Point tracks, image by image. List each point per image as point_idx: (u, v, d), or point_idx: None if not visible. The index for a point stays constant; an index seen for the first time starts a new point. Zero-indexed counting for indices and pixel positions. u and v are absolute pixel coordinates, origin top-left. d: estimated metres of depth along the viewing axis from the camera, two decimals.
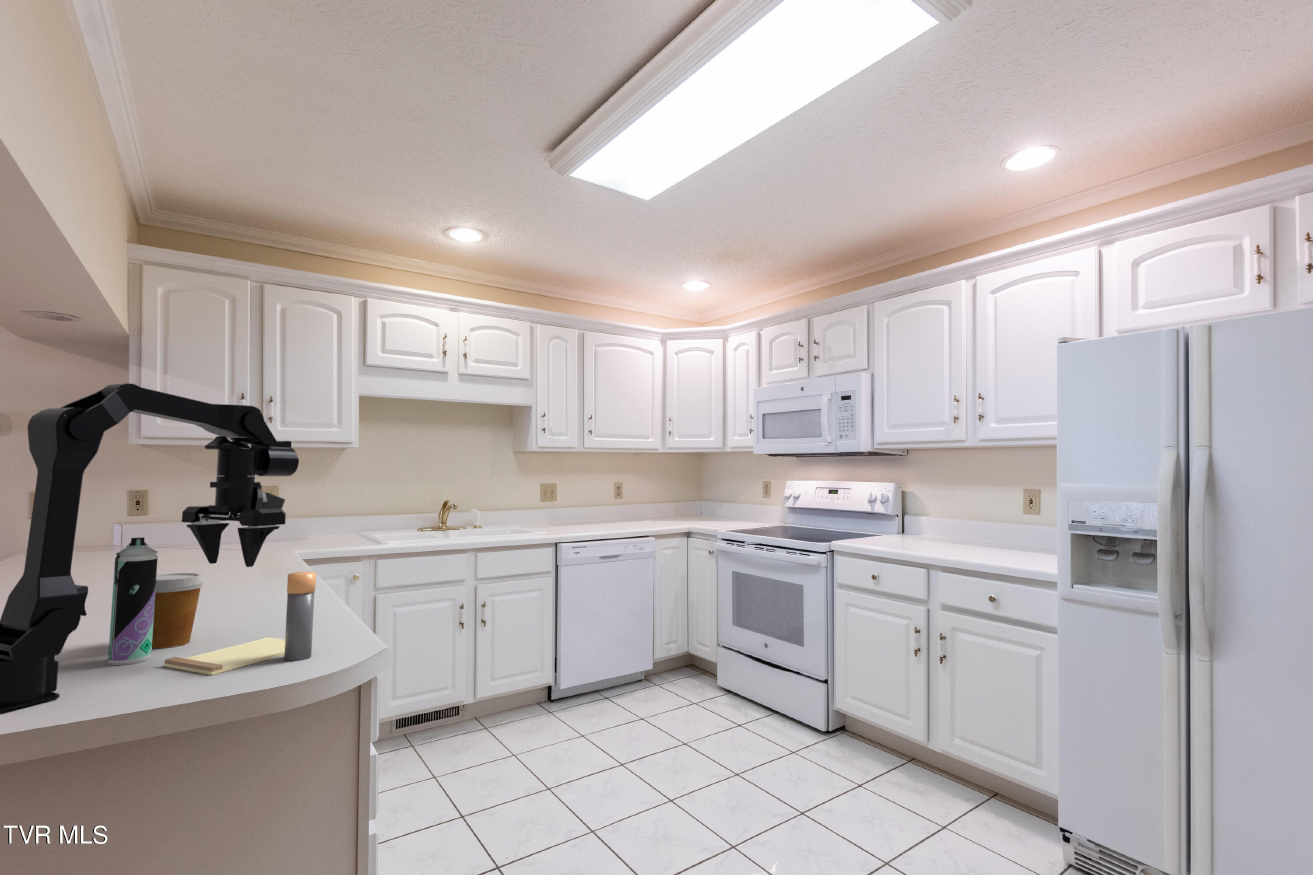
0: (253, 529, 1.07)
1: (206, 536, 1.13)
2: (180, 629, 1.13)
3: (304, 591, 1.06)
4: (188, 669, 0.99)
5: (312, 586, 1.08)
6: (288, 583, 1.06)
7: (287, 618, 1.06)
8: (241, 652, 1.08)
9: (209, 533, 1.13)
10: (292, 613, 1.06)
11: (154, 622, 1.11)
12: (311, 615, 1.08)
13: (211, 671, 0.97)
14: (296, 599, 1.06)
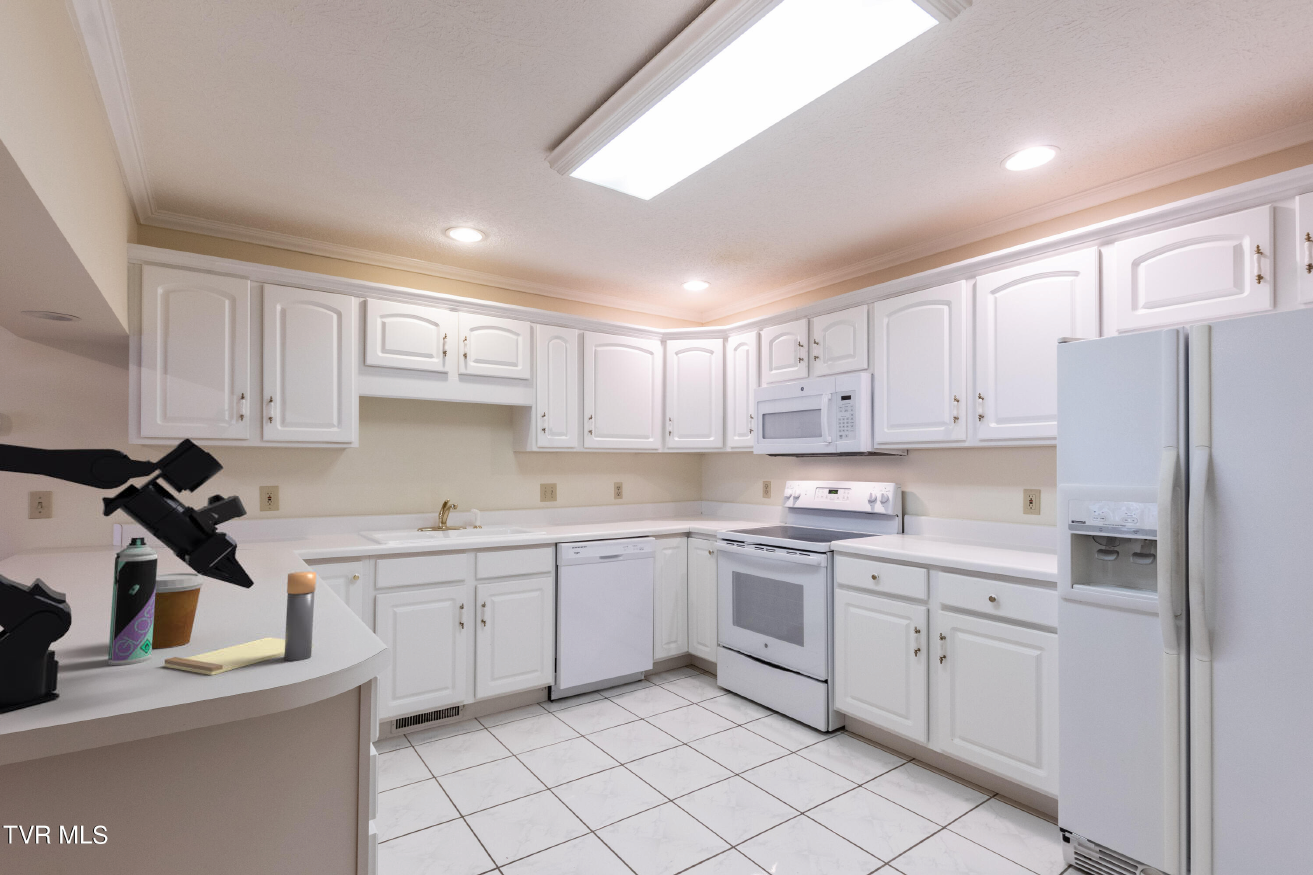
0: (206, 571, 0.92)
1: None
2: (180, 629, 1.13)
3: (304, 591, 1.06)
4: (188, 669, 0.99)
5: (312, 585, 1.08)
6: (288, 583, 1.06)
7: (287, 618, 1.06)
8: (241, 652, 1.08)
9: None
10: (292, 613, 1.06)
11: (154, 622, 1.11)
12: (311, 615, 1.08)
13: (211, 671, 0.97)
14: (296, 599, 1.06)
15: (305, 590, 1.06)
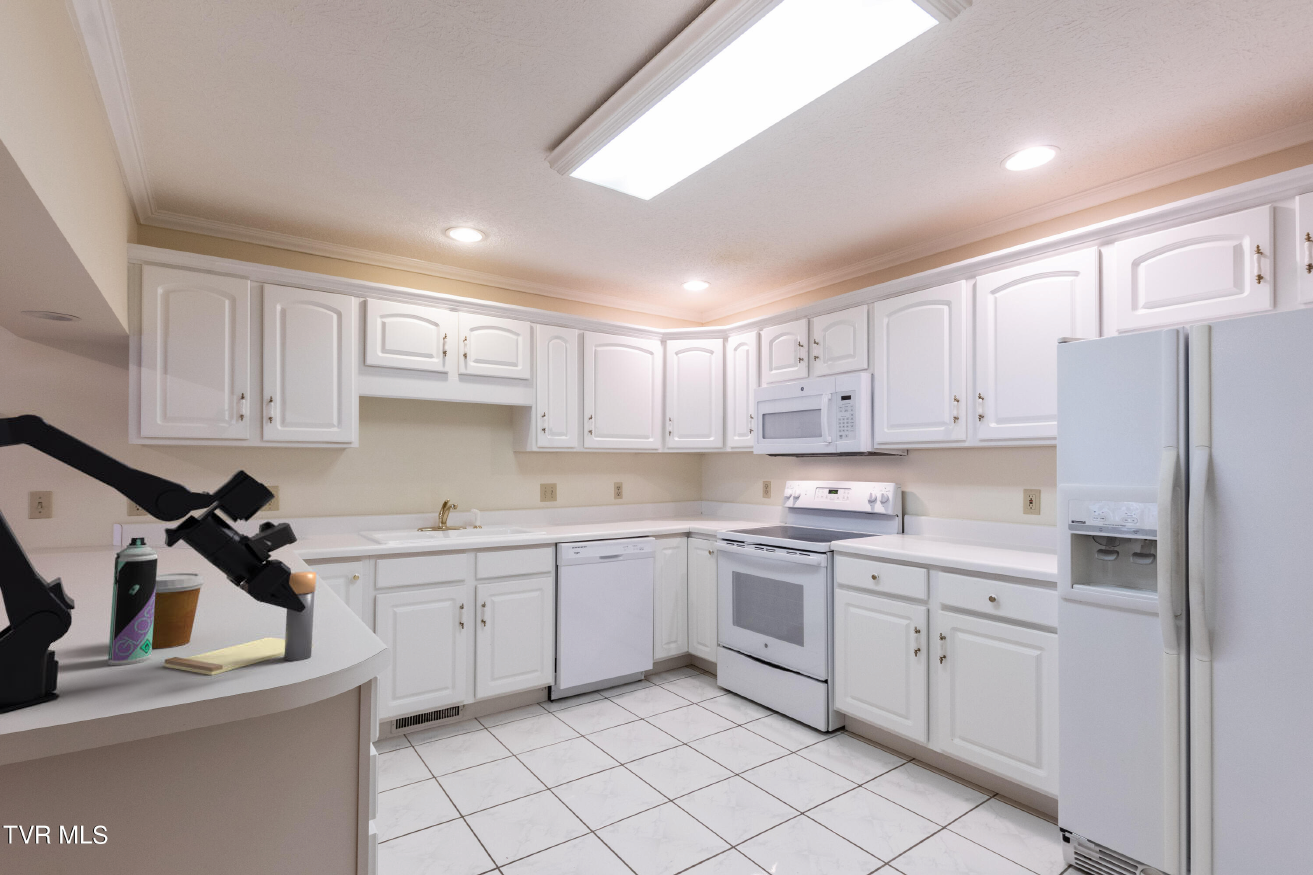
0: (263, 598, 0.97)
1: None
2: (180, 629, 1.13)
3: (304, 591, 1.06)
4: (188, 669, 0.99)
5: (312, 585, 1.08)
6: None
7: (287, 618, 1.06)
8: (241, 652, 1.08)
9: None
10: (292, 613, 1.06)
11: (154, 622, 1.11)
12: (311, 615, 1.08)
13: (211, 671, 0.97)
14: None
15: (305, 590, 1.06)
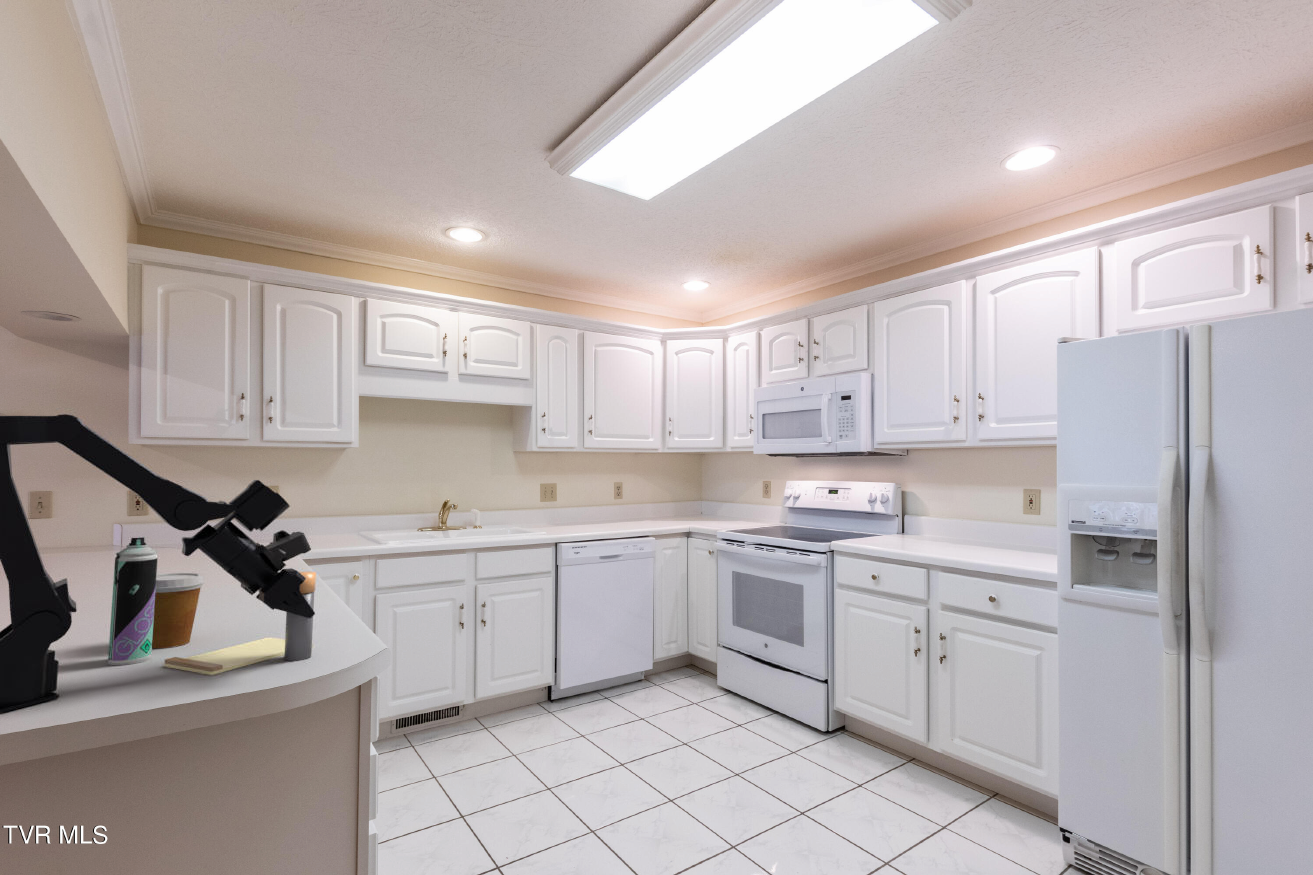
0: None
1: None
2: (180, 629, 1.13)
3: (304, 591, 1.06)
4: (188, 669, 0.99)
5: (312, 586, 1.08)
6: None
7: (287, 618, 1.06)
8: (241, 652, 1.08)
9: None
10: None
11: (154, 622, 1.11)
12: None
13: (211, 671, 0.97)
14: None
15: (305, 590, 1.06)
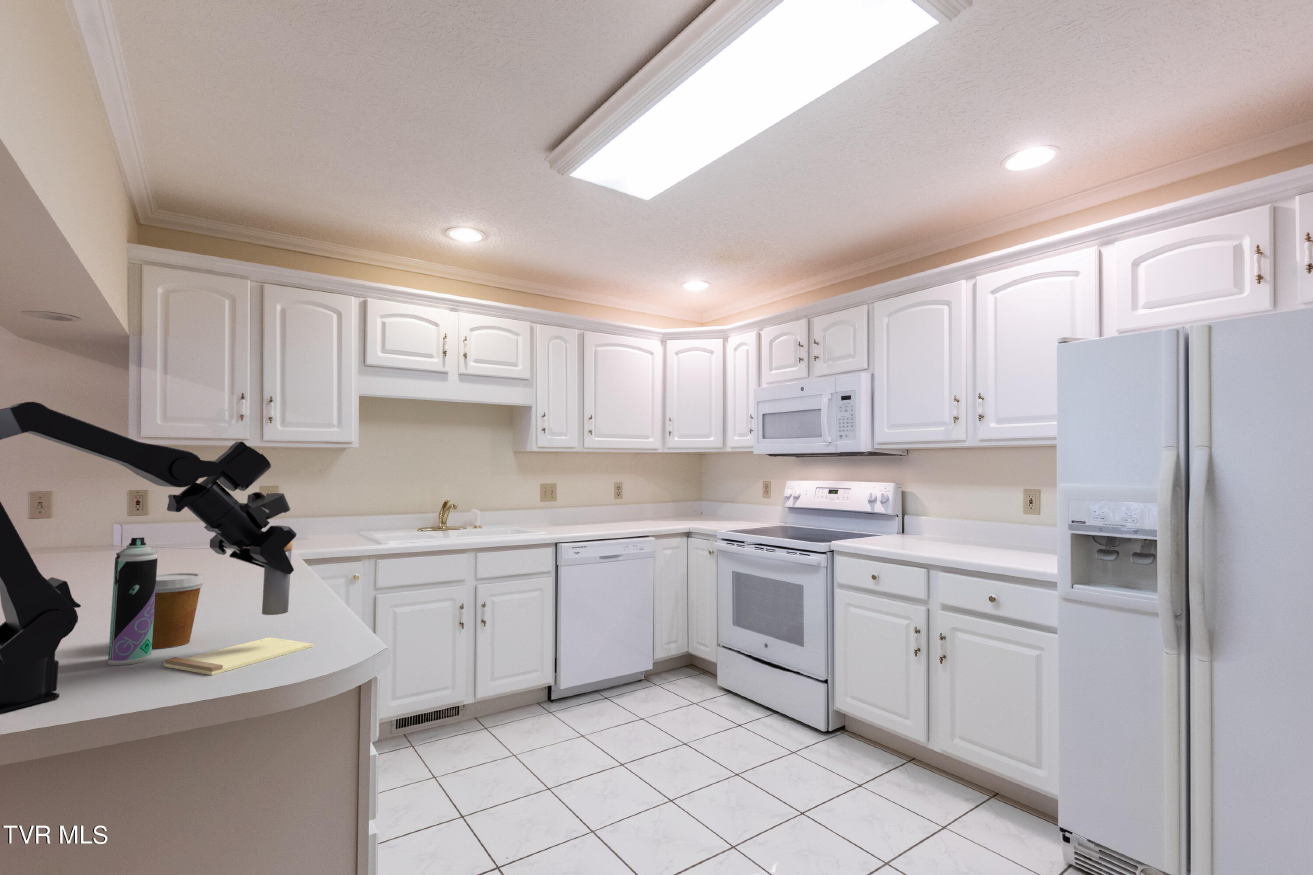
0: None
1: (252, 557, 1.12)
2: (180, 629, 1.13)
3: (284, 548, 1.12)
4: (188, 669, 0.99)
5: (291, 544, 1.13)
6: None
7: (266, 575, 1.11)
8: (241, 652, 1.08)
9: None
10: (272, 570, 1.11)
11: (154, 622, 1.11)
12: None
13: (211, 671, 0.97)
14: None
15: (285, 548, 1.12)
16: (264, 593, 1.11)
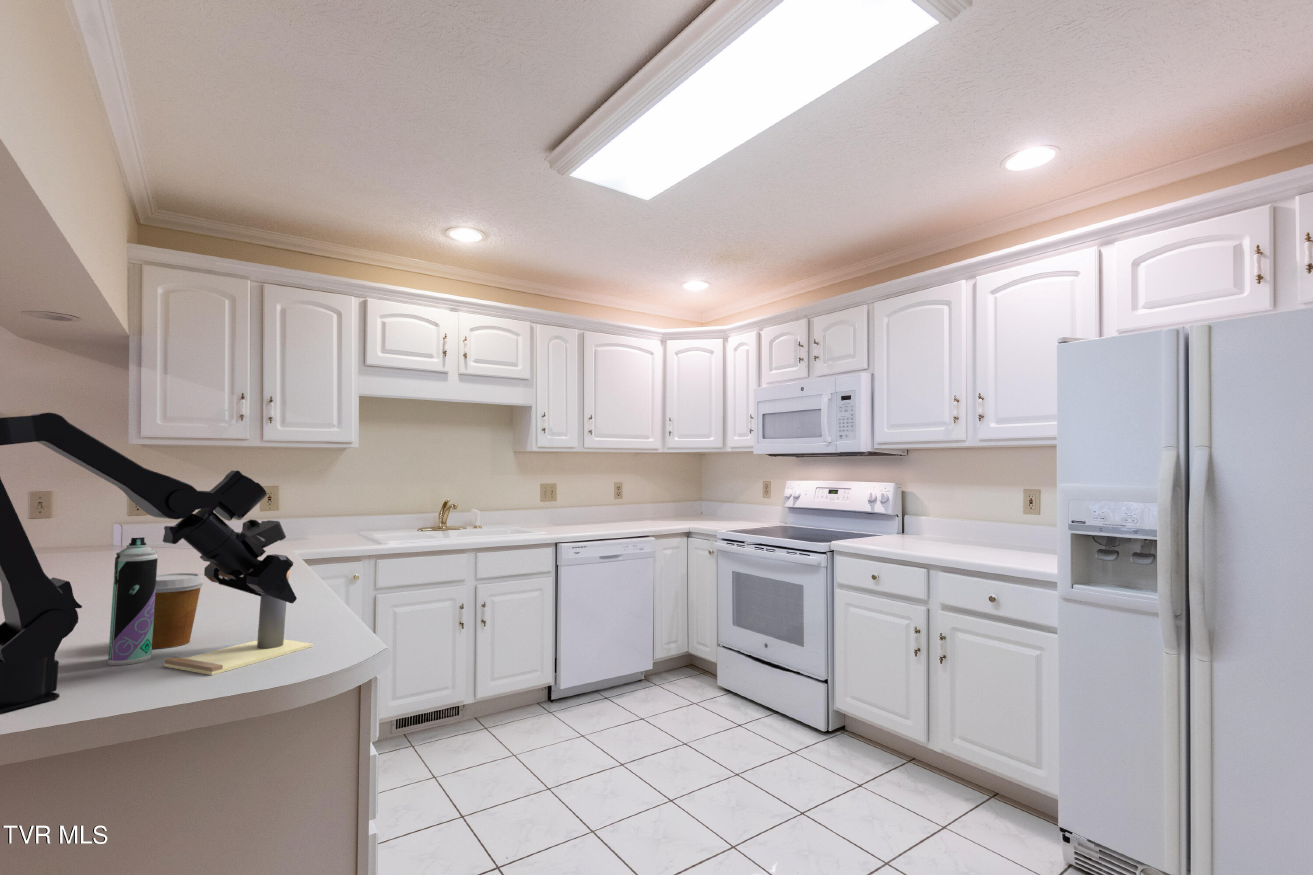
0: None
1: (241, 584, 1.13)
2: (180, 629, 1.13)
3: None
4: (188, 669, 0.99)
5: (287, 577, 1.13)
6: None
7: (262, 608, 1.11)
8: (241, 652, 1.08)
9: (242, 580, 1.13)
10: (268, 603, 1.11)
11: (154, 622, 1.11)
12: (285, 605, 1.13)
13: (211, 671, 0.97)
14: None
15: None
16: (260, 626, 1.11)
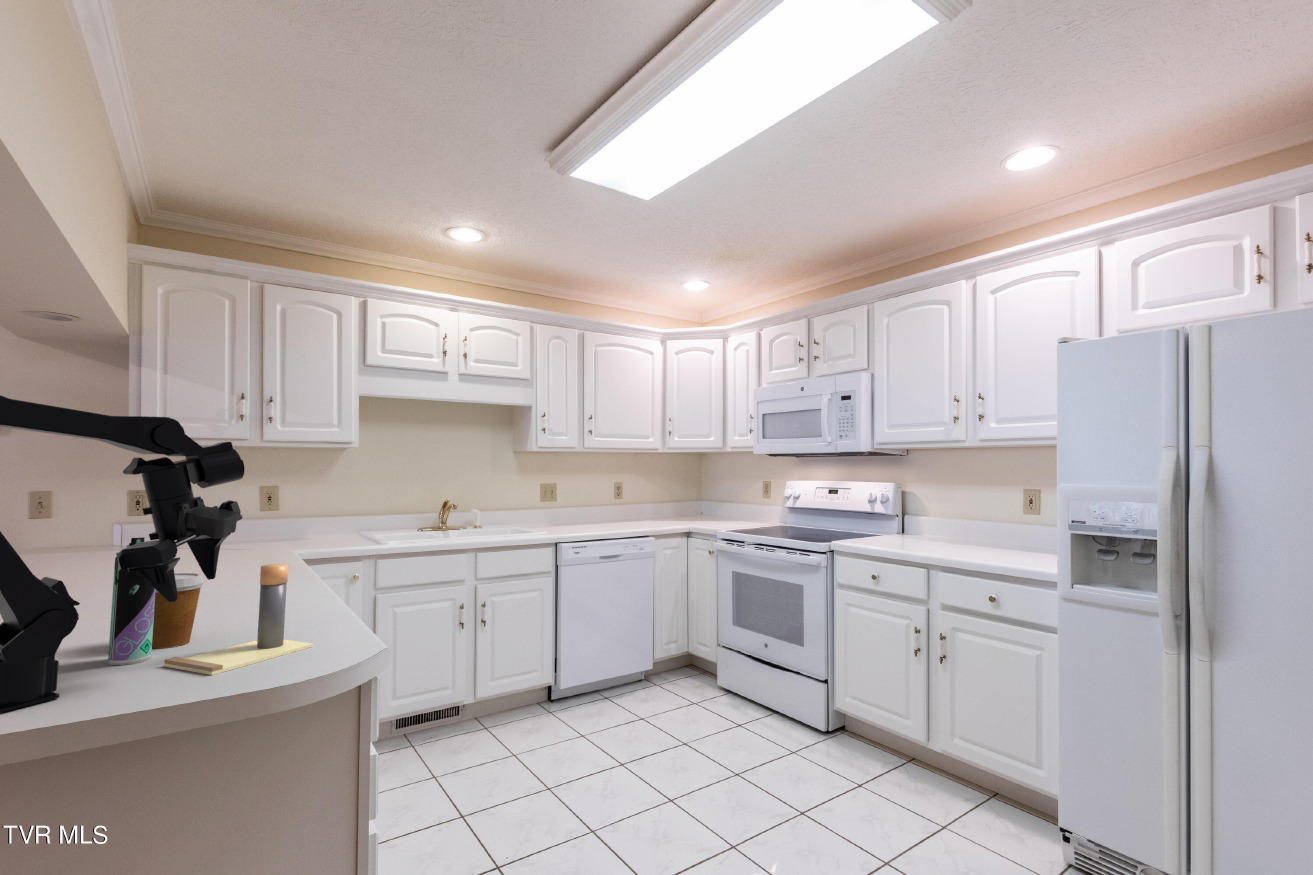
0: (130, 569, 0.93)
1: (198, 551, 1.06)
2: (180, 629, 1.13)
3: (280, 582, 1.12)
4: (188, 669, 0.99)
5: (286, 577, 1.13)
6: (263, 575, 1.11)
7: (262, 608, 1.11)
8: (241, 652, 1.08)
9: (201, 548, 1.06)
10: (268, 603, 1.11)
11: (154, 622, 1.11)
12: (284, 605, 1.13)
13: (211, 671, 0.97)
14: (272, 590, 1.11)
15: (281, 581, 1.12)
16: (259, 627, 1.11)
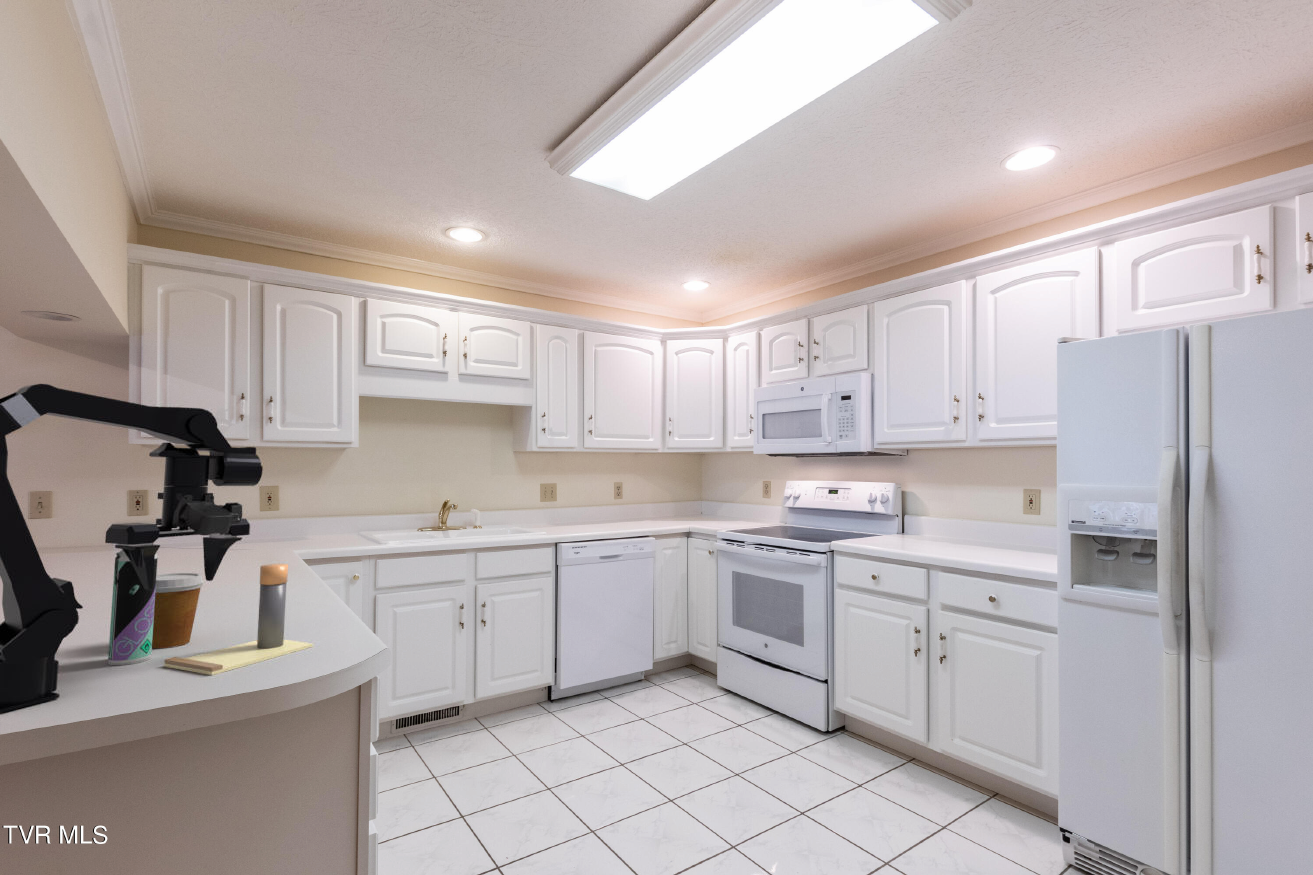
0: (115, 546, 0.95)
1: (207, 550, 1.06)
2: (180, 629, 1.13)
3: (279, 582, 1.12)
4: (188, 669, 0.99)
5: (286, 576, 1.13)
6: (262, 575, 1.11)
7: (261, 608, 1.11)
8: (241, 652, 1.08)
9: (210, 547, 1.06)
10: (268, 603, 1.11)
11: (154, 622, 1.11)
12: (284, 604, 1.13)
13: (211, 671, 0.97)
14: (272, 590, 1.11)
15: (280, 581, 1.12)
16: (259, 627, 1.11)
